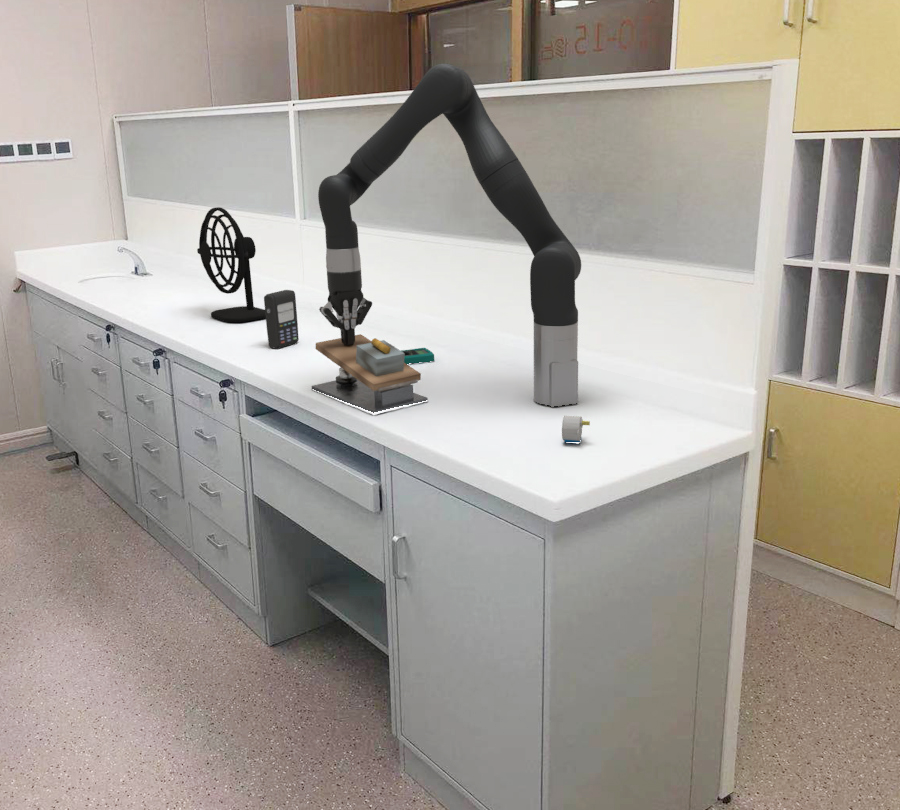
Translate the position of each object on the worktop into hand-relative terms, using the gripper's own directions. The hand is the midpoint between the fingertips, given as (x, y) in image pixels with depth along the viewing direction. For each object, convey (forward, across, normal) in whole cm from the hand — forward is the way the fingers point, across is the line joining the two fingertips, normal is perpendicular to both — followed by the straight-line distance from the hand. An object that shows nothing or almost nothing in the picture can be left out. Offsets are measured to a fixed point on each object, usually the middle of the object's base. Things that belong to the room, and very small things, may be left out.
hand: (348, 344), depth 201 cm
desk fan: (+11, +17, +96) cm, 98 cm away
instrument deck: (+4, 0, -7) cm, 8 cm away
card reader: (+11, +9, +50) cm, 52 cm away
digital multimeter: (+11, +23, +12) cm, 28 cm away
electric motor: (+10, +12, -59) cm, 62 cm away
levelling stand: (+10, 0, -7) cm, 13 cm away
